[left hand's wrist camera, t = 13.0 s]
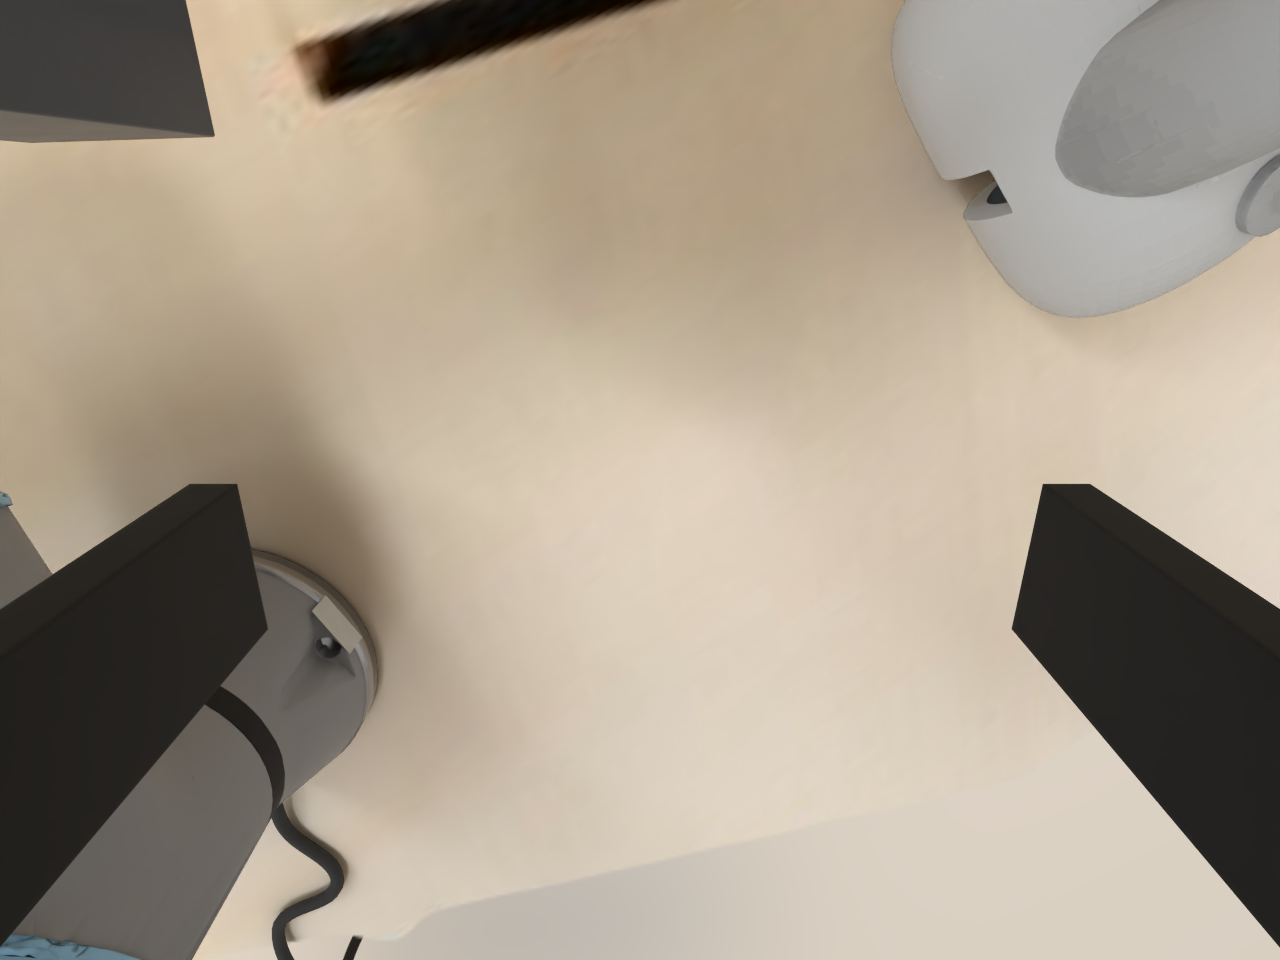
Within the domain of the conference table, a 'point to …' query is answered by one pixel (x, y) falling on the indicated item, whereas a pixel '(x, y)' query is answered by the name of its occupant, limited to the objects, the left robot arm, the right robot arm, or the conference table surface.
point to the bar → (99, 71)
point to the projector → (1100, 136)
